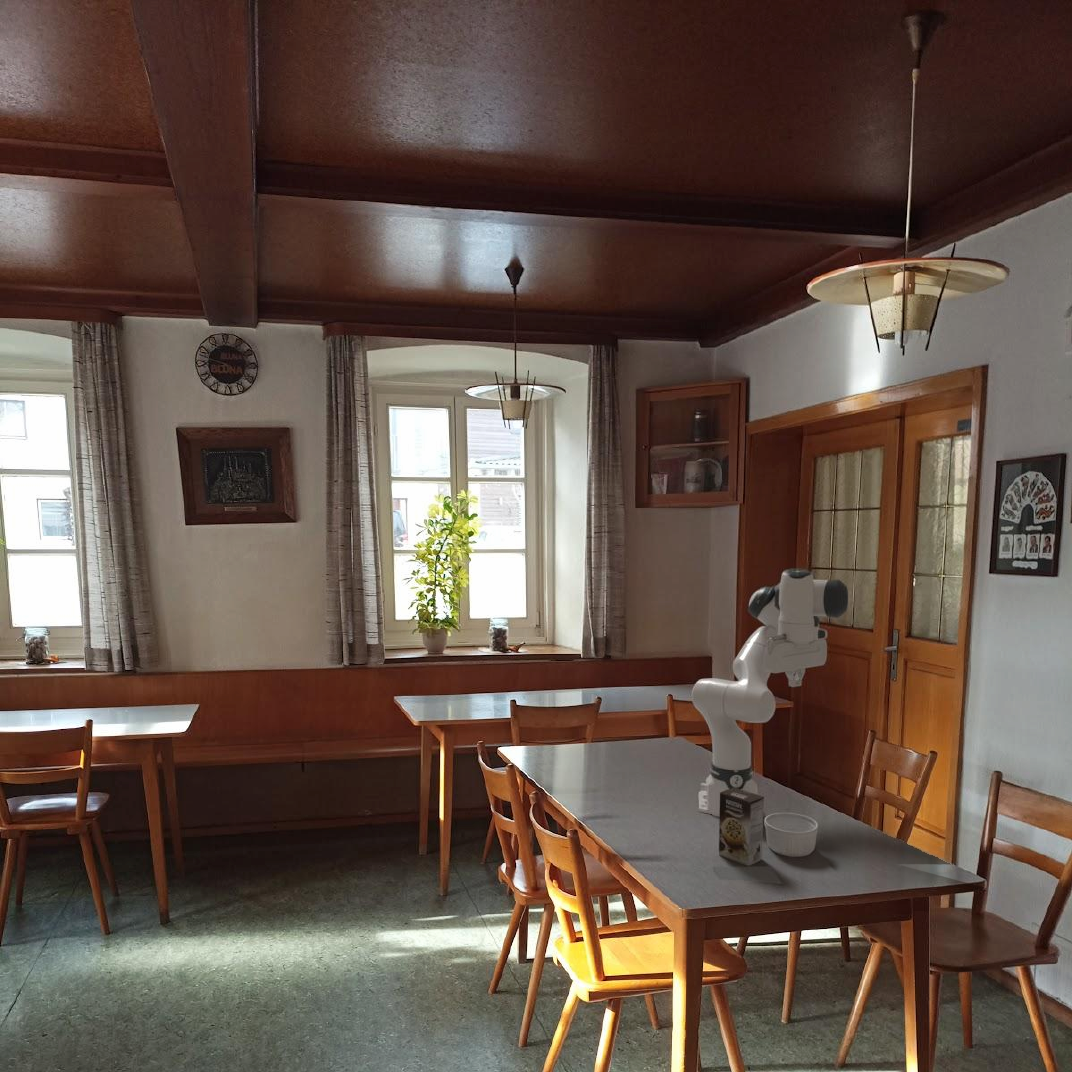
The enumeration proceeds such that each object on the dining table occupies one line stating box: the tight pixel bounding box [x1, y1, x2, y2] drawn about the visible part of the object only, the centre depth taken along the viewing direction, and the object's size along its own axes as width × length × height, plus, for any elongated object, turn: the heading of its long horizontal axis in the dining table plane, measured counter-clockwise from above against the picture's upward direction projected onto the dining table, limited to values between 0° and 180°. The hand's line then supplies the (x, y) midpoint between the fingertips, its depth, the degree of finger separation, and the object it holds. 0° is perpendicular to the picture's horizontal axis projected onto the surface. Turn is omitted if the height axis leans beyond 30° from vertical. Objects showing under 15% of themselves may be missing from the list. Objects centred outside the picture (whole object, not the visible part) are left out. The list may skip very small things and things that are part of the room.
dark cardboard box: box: [718, 787, 765, 867], centre depth 213 cm, size 9×6×16 cm
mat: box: [712, 866, 783, 885], centre depth 202 cm, size 10×14×1 cm
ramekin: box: [763, 812, 819, 858], centre depth 219 cm, size 13×13×7 cm
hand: (794, 686), depth 220 cm, fingers closed
